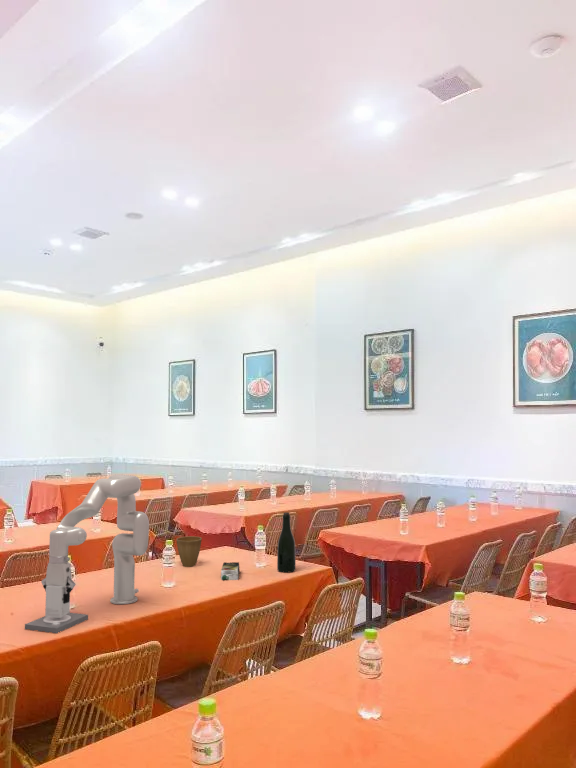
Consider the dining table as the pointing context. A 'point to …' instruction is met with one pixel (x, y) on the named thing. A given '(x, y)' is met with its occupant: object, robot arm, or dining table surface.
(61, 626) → the mount plate
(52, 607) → the supplement box
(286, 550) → the beer bottle
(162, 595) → the dining table surface
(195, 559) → the plant pot
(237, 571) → the juice carton
